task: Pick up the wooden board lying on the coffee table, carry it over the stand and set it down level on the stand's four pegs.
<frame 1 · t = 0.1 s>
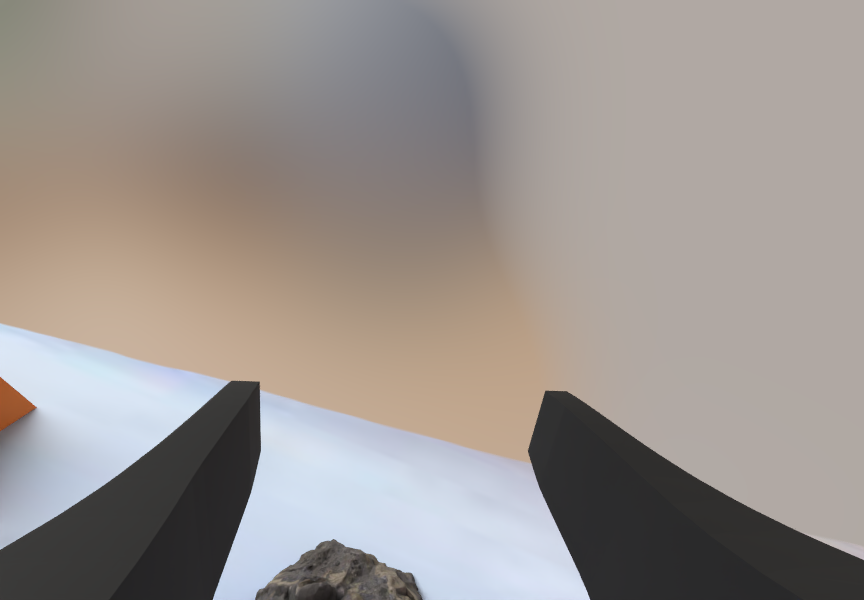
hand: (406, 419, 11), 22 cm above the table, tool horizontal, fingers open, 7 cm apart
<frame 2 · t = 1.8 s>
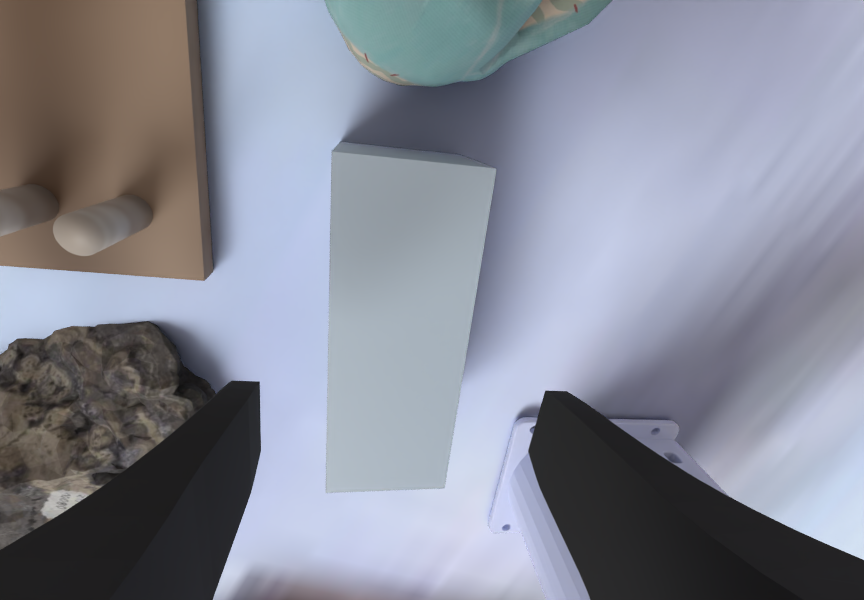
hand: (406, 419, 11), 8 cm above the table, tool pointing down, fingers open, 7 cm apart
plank: (390, 294, 18), on the table
geode: (49, 463, 20), on the table
peg stand: (82, 69, 13), on the table
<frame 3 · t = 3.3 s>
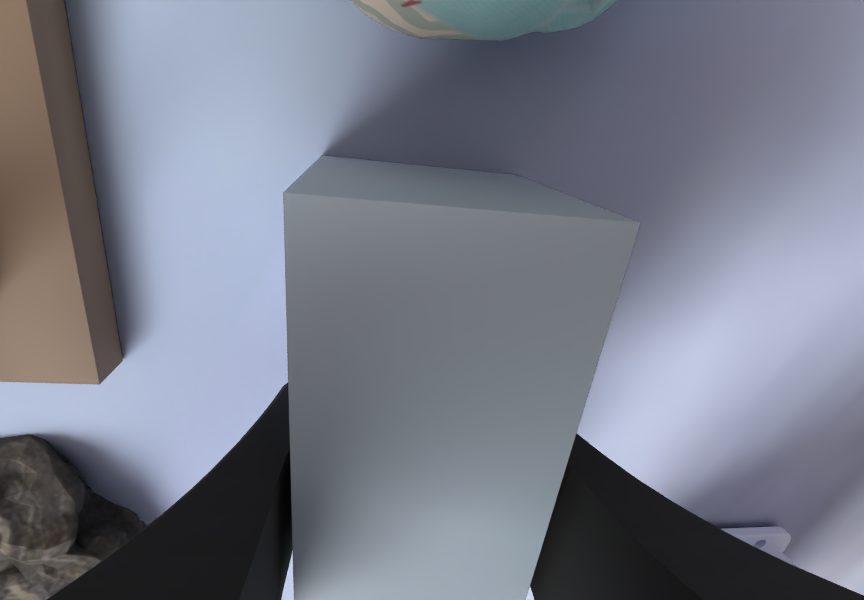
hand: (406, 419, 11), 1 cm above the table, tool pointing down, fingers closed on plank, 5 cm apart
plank: (401, 384, 12), on the table, touching gripper
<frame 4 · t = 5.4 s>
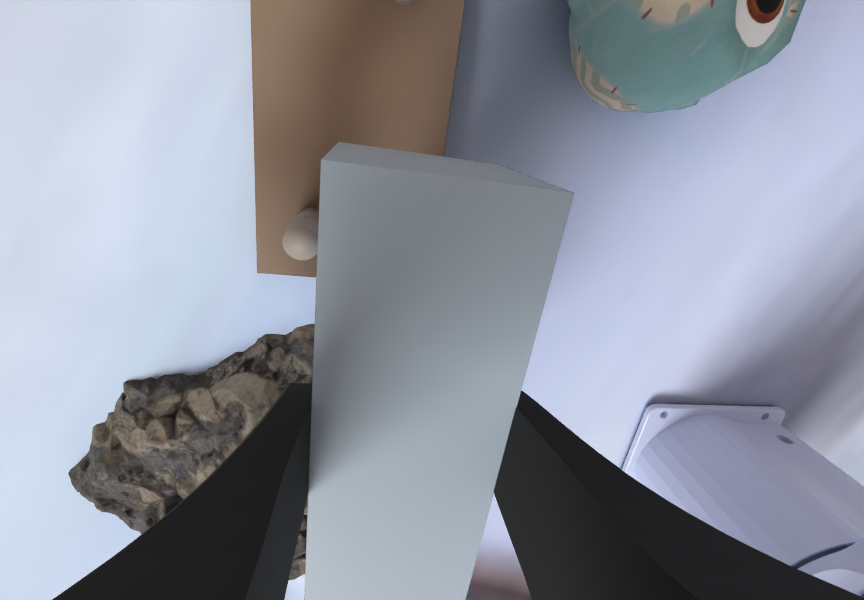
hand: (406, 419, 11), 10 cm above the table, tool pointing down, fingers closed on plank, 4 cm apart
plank: (397, 340, 14), point 6 cm above the table, touching gripper
geode: (257, 442, 23), on the table
peg stand: (354, 113, 16), on the table
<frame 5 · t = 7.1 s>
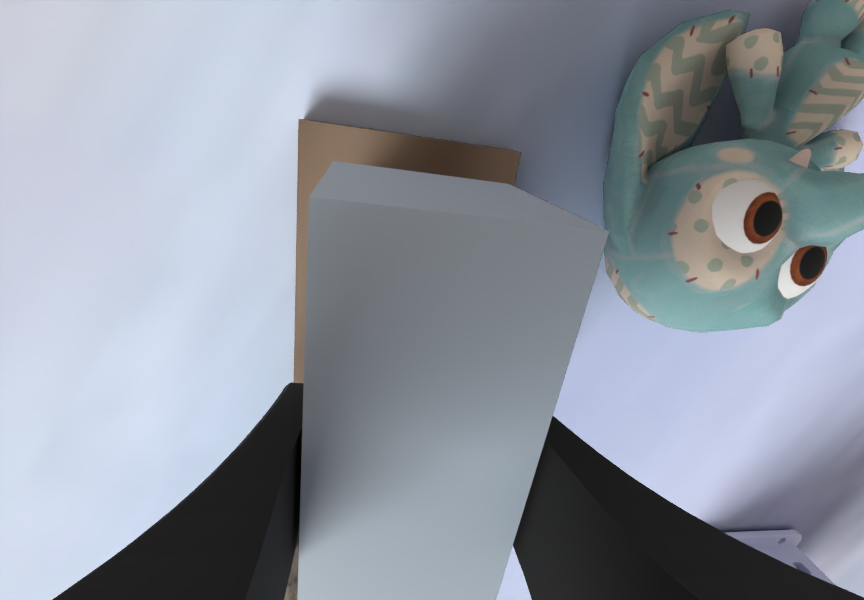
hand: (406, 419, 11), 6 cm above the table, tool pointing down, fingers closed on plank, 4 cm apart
stuffed animal: (695, 159, 16), on the table
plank: (398, 373, 13), point 4 cm above the table, touching gripper, peg stand
geode: (285, 581, 23), on the table
peg stand: (391, 311, 16), on the table
when the fingers open (6 cm above the table, at t = 7.7 s): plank stays where it is, resting on peg stand.
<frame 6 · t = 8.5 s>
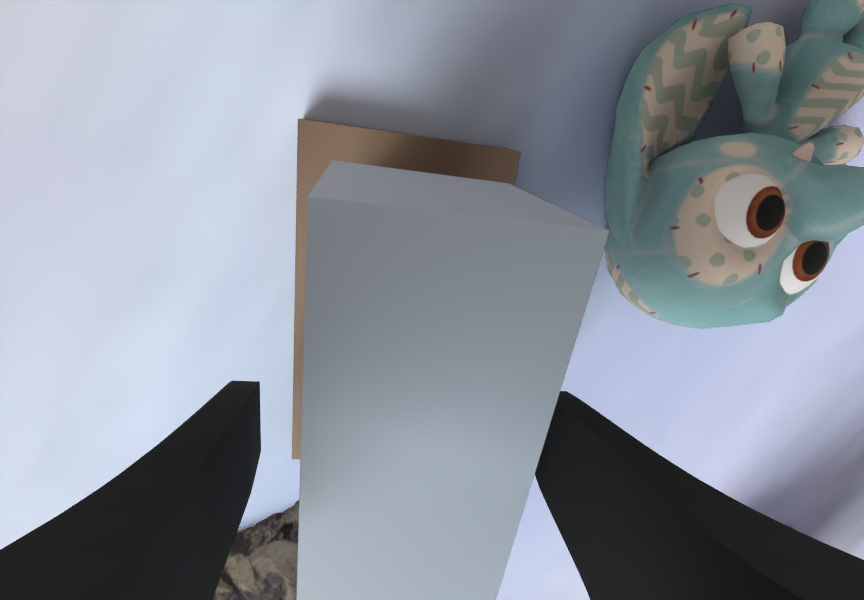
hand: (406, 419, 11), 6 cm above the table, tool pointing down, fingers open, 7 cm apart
stuffed animal: (696, 155, 16), on the table
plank: (397, 373, 13), point 4 cm above the table, touching peg stand
geode: (287, 582, 23), on the table
peg stand: (391, 311, 16), on the table
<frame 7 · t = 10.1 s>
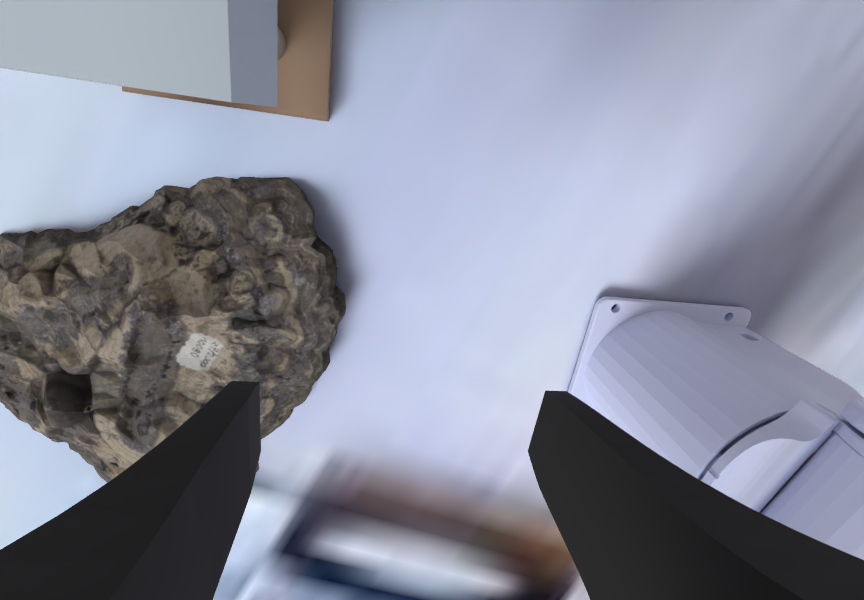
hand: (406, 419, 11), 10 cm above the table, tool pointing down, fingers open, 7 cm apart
geode: (166, 328, 20), on the table
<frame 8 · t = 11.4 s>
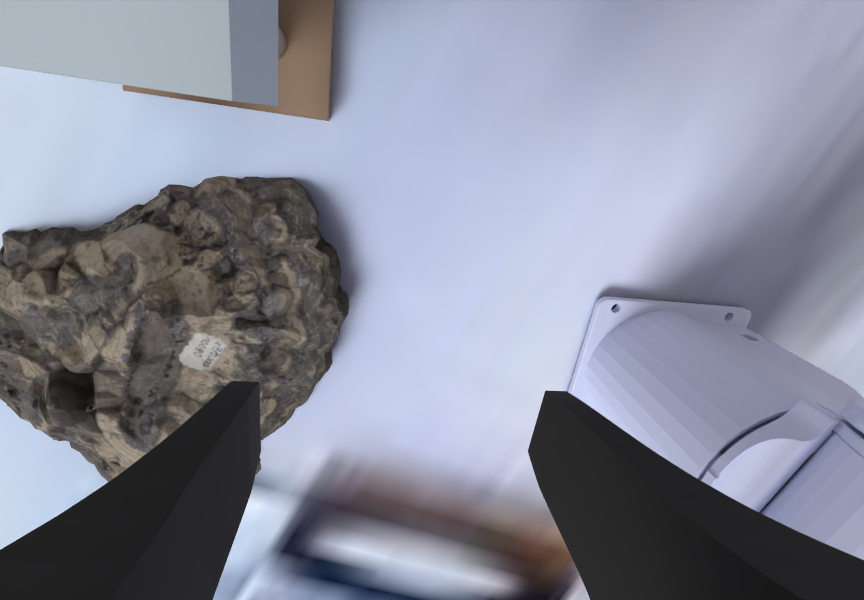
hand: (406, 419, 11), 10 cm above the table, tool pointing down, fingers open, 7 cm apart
geode: (169, 327, 20), on the table
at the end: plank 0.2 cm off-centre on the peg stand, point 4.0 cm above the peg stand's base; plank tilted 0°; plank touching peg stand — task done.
